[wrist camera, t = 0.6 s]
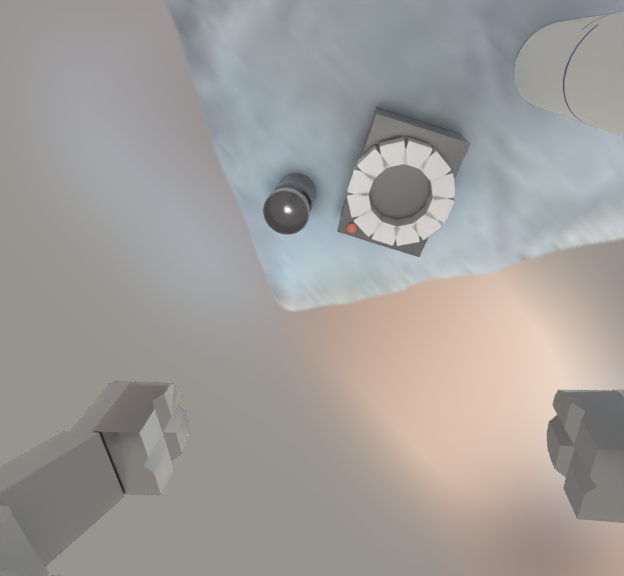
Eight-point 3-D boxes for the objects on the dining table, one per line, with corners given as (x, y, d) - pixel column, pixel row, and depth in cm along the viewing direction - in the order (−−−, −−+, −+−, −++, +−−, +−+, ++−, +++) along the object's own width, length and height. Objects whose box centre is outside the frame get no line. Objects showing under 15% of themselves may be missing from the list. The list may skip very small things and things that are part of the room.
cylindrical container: (496, 74, 42) (630, 101, 20) (560, 2, 38) (803, -61, 17) (548, 123, 43) (726, 198, 21) (614, 57, 40) (903, 66, 18)
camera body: (372, 106, 44) (372, 115, 38) (464, 135, 45) (478, 149, 38) (337, 214, 50) (332, 237, 44) (418, 240, 50) (424, 266, 44)
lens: (282, 167, 48) (268, 184, 42) (321, 179, 49) (314, 198, 42) (272, 205, 51) (258, 227, 45) (310, 217, 51) (302, 240, 45)
